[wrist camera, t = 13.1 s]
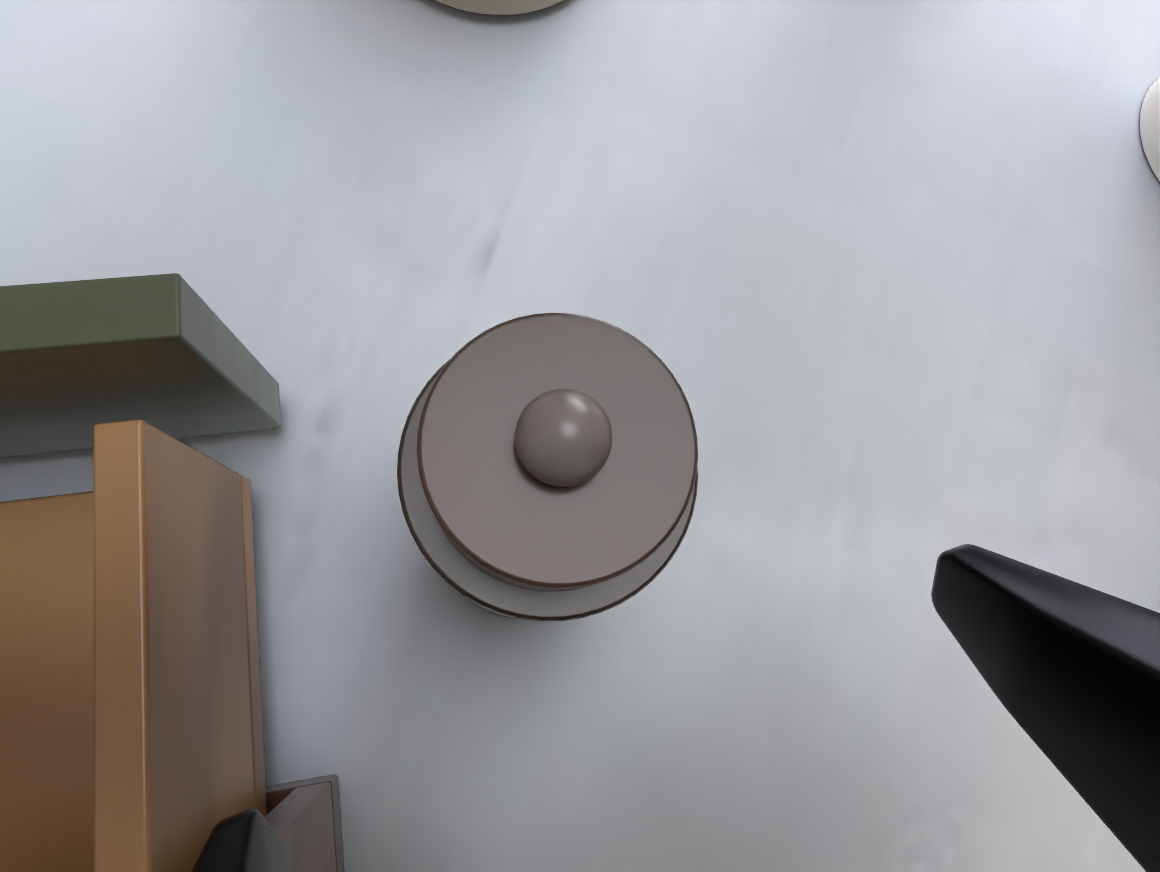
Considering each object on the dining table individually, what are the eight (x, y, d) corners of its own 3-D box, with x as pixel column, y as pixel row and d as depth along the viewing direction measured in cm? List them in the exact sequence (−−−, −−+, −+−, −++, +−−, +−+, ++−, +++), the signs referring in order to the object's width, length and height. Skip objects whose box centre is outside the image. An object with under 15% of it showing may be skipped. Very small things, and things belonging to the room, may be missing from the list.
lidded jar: (587, 632, 19) (727, 658, 8) (421, 599, 19) (324, 580, 8) (616, 470, 20) (774, 295, 9) (459, 437, 20) (424, 214, 9)
